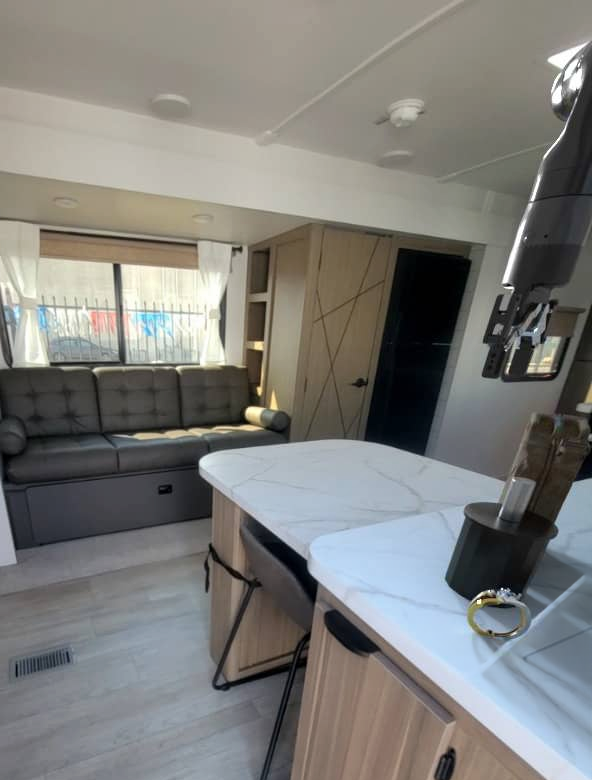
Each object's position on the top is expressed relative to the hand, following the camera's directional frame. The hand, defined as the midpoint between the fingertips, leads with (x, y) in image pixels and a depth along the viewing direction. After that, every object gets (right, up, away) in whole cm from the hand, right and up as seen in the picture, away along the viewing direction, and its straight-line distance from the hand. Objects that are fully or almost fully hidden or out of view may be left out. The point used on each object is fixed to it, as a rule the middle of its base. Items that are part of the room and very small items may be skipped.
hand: (503, 376), depth 59 cm
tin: (+1, -32, +7) cm, 33 cm away
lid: (+1, -21, +1) cm, 21 cm away
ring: (-5, -37, -3) cm, 38 cm away
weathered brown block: (+14, -28, +18) cm, 36 cm away
